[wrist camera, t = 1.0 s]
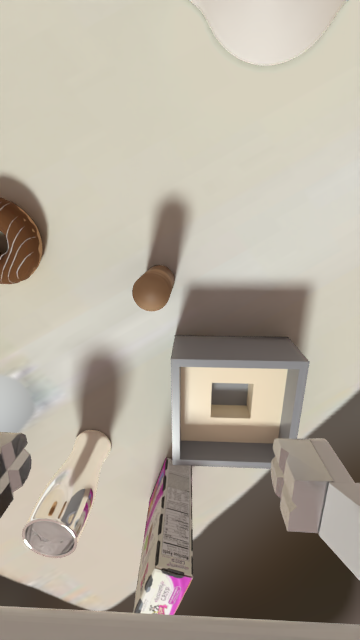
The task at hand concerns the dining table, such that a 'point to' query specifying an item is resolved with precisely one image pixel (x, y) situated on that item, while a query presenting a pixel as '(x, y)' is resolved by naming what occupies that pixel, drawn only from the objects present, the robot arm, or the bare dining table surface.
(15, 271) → the donut
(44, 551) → the beer glass
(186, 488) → the candy bar box
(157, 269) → the peg
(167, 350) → the dining table surface
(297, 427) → the open-top box
